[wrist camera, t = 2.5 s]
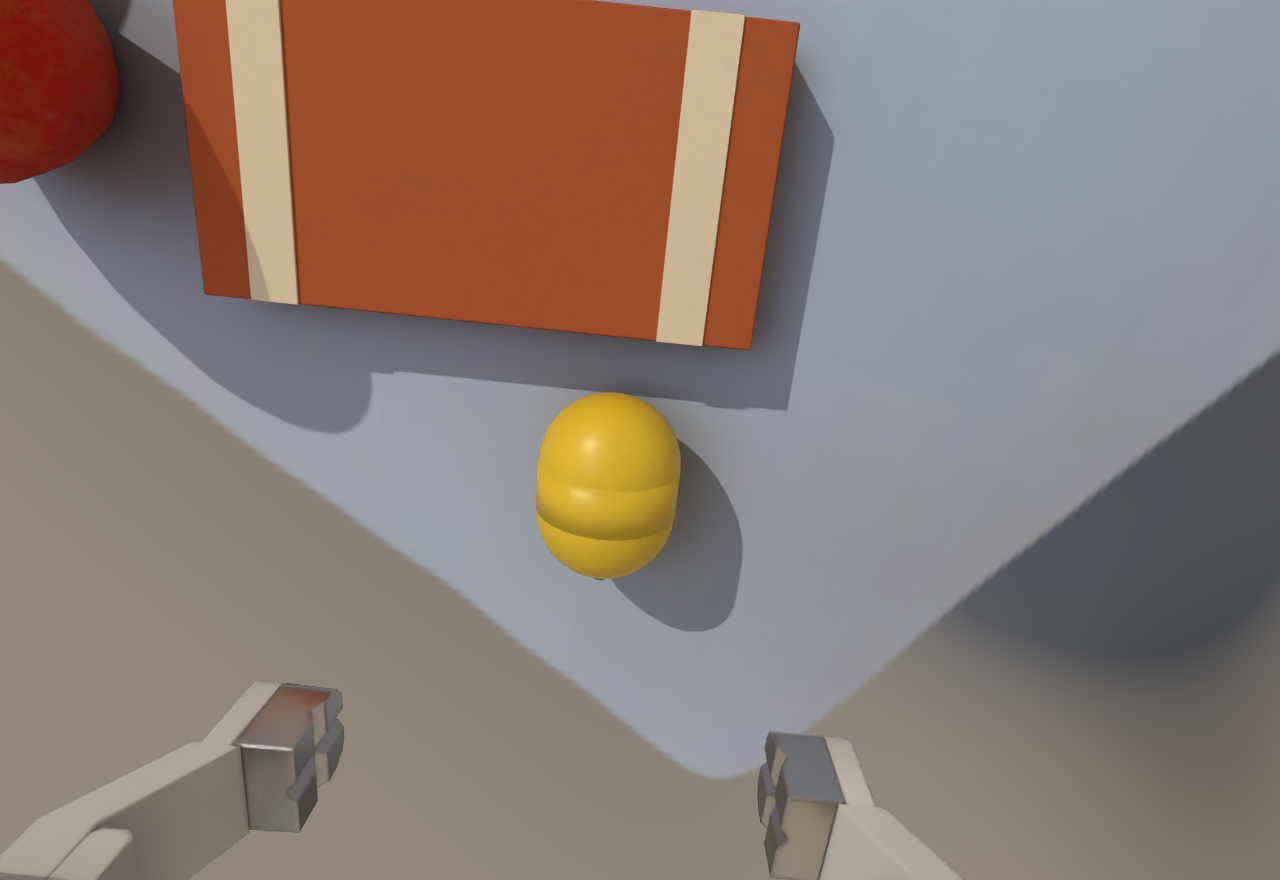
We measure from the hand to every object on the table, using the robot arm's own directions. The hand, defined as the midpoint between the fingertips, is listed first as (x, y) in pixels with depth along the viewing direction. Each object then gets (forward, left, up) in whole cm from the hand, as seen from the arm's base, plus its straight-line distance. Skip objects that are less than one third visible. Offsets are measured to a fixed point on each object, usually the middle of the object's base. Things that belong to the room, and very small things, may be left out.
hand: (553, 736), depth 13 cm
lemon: (0, 0, -15) cm, 15 cm away
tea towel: (+5, -11, -15) cm, 19 cm away
